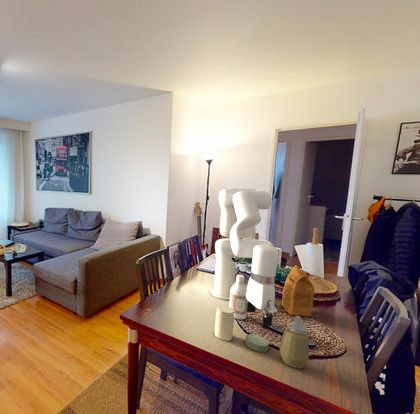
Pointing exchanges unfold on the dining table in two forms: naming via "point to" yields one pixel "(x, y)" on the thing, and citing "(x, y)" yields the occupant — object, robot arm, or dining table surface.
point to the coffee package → (298, 293)
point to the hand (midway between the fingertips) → (258, 318)
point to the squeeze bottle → (295, 344)
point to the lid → (256, 343)
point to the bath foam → (238, 298)
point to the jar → (224, 322)
